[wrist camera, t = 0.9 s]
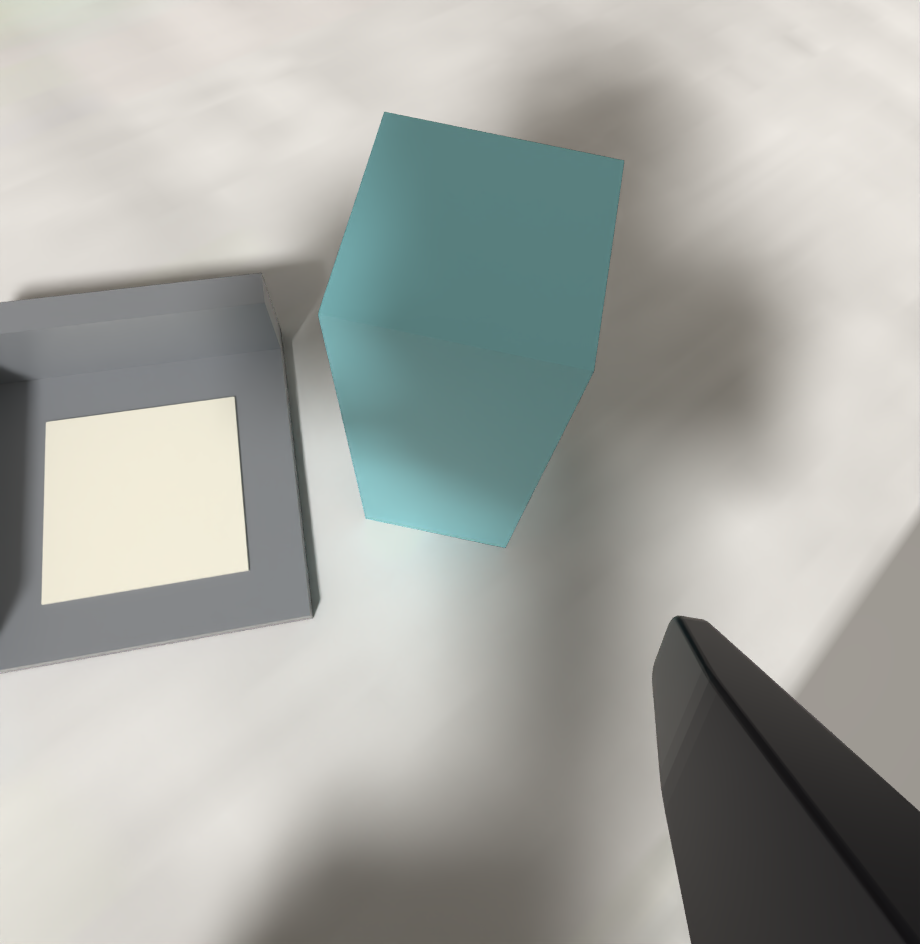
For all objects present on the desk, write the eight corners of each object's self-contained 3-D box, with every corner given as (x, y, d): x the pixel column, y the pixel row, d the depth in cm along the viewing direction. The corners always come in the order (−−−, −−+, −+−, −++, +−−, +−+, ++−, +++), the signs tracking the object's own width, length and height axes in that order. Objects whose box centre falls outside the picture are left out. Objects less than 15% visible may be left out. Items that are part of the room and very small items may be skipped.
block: (505, 548, 24) (594, 371, 12) (365, 518, 24) (317, 314, 12) (527, 421, 25) (624, 160, 14) (398, 394, 25) (384, 111, 14)
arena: (313, 618, 22) (295, 599, 19) (-51, 682, 21) (-138, 674, 18) (280, 329, 26) (261, 272, 23) (-30, 368, 25) (-97, 313, 21)
